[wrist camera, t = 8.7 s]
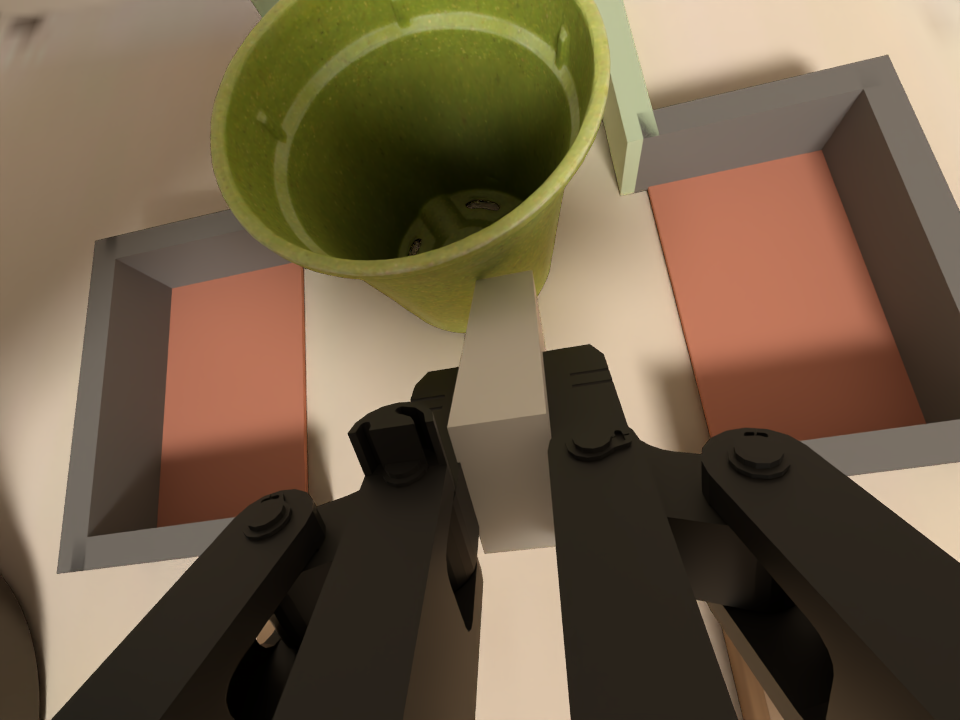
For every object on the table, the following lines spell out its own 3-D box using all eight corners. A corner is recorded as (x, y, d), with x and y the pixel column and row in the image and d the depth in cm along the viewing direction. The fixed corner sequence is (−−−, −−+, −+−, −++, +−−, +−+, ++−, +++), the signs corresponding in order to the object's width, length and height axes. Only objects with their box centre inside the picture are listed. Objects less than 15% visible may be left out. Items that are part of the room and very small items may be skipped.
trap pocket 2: (322, 539, 18) (272, 547, 15) (135, 563, 19) (56, 574, 16) (314, 239, 21) (272, 199, 18) (156, 273, 22) (95, 240, 20)
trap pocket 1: (974, 459, 15) (1068, 448, 12) (707, 492, 16) (734, 489, 13) (840, 124, 18) (888, 54, 15) (628, 170, 19) (636, 113, 17)
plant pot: (384, 153, 22) (266, -58, 14) (609, 156, 20) (629, -92, 11) (335, 361, 20) (158, 260, 11) (583, 389, 17) (585, 290, 9)
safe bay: (647, 190, 19) (669, 86, 14) (303, 262, 21) (223, 193, 16) (593, -24, 22) (596, -166, 17) (299, 58, 24) (231, -50, 20)
